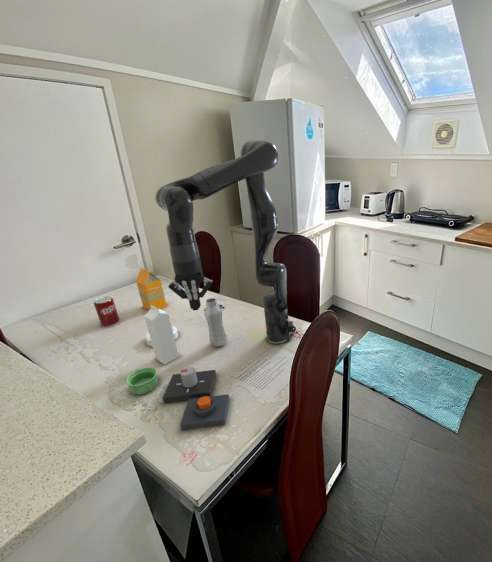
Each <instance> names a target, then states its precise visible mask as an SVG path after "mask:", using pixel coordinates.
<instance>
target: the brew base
mask: <svg viewBox="0 0 492 562" xmlns="http://www.w3.org/2000/svg"><path fill="white" fill-rule="evenodd" d="M195 372H196V376H197V384H196V385H194V386H193V387H189V388H186V387H184V386H183V382H182V378H181V374H180V373H174V374H172V376H171V378H170V380H169V382H168V384H167V387H166V389H165V391H164V394H163V396H162V400H163V404H164V405H166V404H175V403H183V402H184V403H185V402H188V400H189V399H194V398H201V397H204V396H213V391H214V386H215V382H216V379H217V371H216V369H211V370H201V371H195Z"/></svg>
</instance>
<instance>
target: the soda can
mask: <svg viewBox="0 0 492 562" xmlns="http://www.w3.org/2000/svg"><path fill="white" fill-rule="evenodd" d="M93 306H94V308H95V309H94V310H95V312H96V314H97V317H98V320H99V323H100V325H101V326H102V327H105V328H106V327H112V326H115V325H117V324H118V323H119V322H120V316H119V313H118V311H117V307H116V304H115V300H114V298H113V297H112V296H102V297H98V298H97V299H94V301H93Z"/></svg>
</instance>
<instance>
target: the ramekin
mask: <svg viewBox="0 0 492 562" xmlns="http://www.w3.org/2000/svg"><path fill="white" fill-rule="evenodd" d="M158 382H159V380H158V371H157V369H156V368H155V367H148V366H147V367H142V368H139V369H137V370H134V371H133V372H131V373H130V374H129V375H128V376H127V377H126V379H125V384H126V385H127V386H128V388H129V390H130V392H131V393H132V394H134V395H144V394H147V393H150V392H151V391H153V390H154V389H155V388H156V387H157V385H158V384H159V383H158Z"/></svg>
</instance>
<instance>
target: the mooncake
mask: <svg viewBox="0 0 492 562" xmlns="http://www.w3.org/2000/svg"><path fill="white" fill-rule="evenodd" d="M172 329H173V333H174V337H175V340H177V339H178V337H179V332H178V328H177V327H176V326H174V325H172ZM144 339H145V343H146V345H147V346H149V347H151V348H153V346H152V342H151V339H150V335H149V332H148V331H147V332H146V334H145V335H144Z"/></svg>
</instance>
